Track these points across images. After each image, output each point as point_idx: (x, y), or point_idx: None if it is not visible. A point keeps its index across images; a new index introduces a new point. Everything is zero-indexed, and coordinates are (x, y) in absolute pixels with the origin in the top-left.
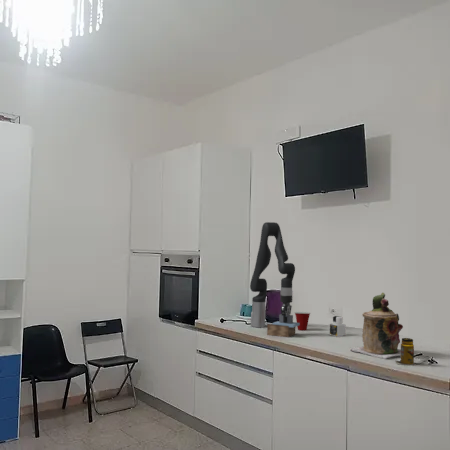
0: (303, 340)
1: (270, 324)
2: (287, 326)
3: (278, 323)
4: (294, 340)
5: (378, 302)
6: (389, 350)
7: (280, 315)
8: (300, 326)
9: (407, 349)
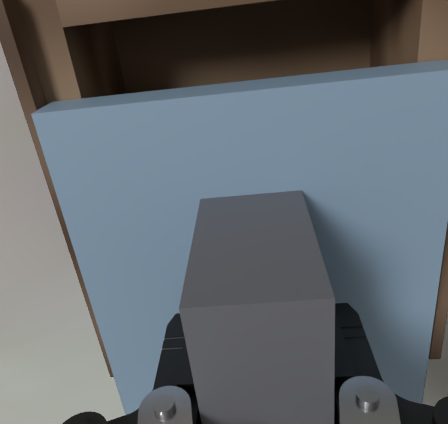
0: (108, 419)
1: (14, 76)
2: (108, 361)
3: (93, 234)
4: (44, 374)
5: None
6: None
7: (187, 324)
8: None
9: None
